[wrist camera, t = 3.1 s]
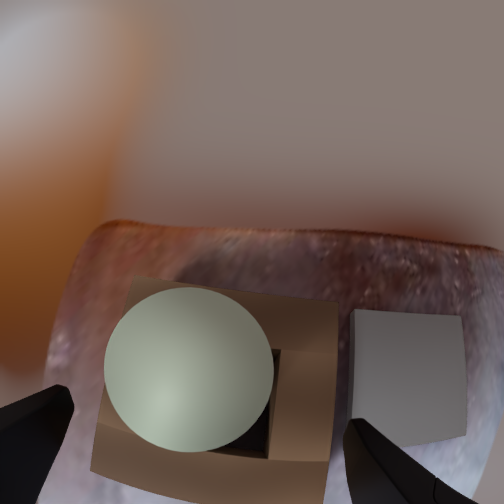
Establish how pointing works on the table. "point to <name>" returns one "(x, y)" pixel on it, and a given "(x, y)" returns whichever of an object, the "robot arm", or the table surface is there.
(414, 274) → the table surface
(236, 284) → the table surface
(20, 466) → the robot arm
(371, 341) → the slate tile
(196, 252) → the table surface
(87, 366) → the table surface
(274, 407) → the walnut pocket block
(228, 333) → the sage peg
